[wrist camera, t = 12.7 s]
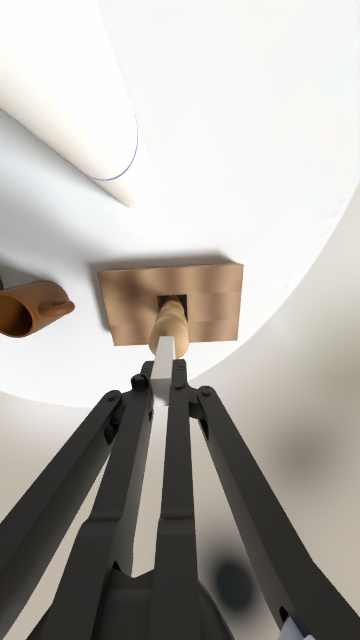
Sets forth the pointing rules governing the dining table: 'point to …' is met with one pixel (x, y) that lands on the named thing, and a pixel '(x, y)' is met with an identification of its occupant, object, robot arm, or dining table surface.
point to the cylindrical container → (73, 93)
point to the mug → (32, 308)
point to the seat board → (193, 280)
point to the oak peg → (171, 326)
